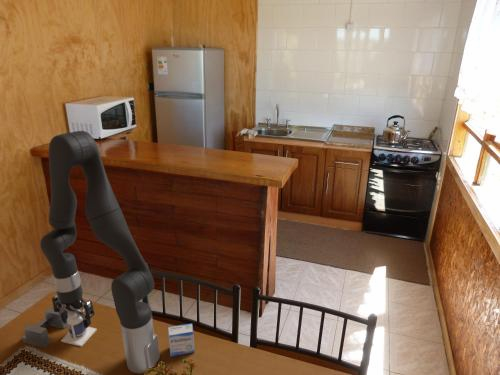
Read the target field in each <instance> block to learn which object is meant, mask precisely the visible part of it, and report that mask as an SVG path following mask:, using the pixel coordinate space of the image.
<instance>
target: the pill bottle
mask: <svg viewBox="0 0 500 375" xmlns="http://www.w3.org/2000/svg"><path fill="white" fill-rule="evenodd" d="M79 311H81V308H80V309H79ZM67 325H68V326H67V328H68V333H70V337H71V338H72V339H74V340H77V339H81V338H83V337H84V336H85V335H86V334H87V328H84V324H83V319H82V317H81V316H78V315H77V314H76V313H75V312H73V311H68V318H67Z"/></svg>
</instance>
